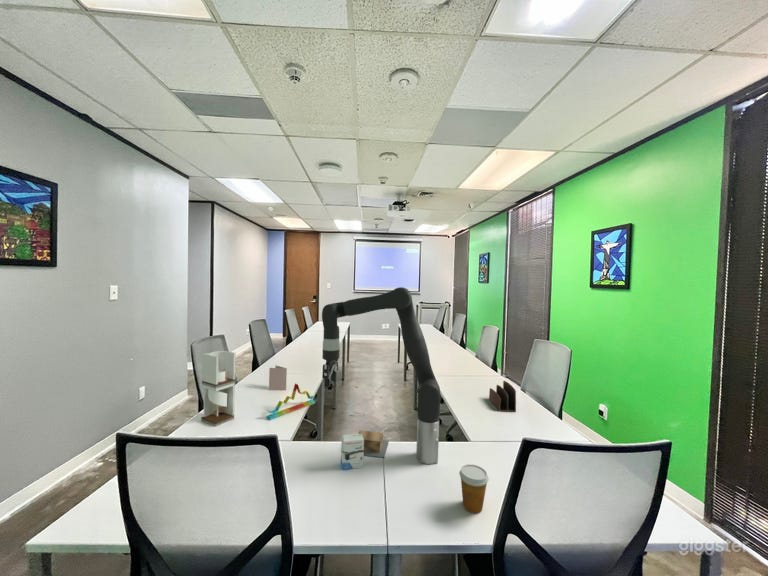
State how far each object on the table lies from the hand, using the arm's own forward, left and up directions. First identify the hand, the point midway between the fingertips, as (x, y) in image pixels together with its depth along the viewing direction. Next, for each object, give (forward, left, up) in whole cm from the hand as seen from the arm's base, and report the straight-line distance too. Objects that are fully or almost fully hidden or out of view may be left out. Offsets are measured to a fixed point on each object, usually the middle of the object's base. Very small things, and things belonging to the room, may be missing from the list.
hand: (330, 384), depth 139 cm
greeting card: (+58, -62, -29) cm, 90 cm away
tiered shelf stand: (+65, -13, -29) cm, 72 cm away
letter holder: (-89, -71, -29) cm, 117 cm away
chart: (+33, -33, -29) cm, 55 cm away
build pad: (-18, -4, -29) cm, 34 cm away
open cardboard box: (-18, -4, -28) cm, 34 cm away
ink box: (-14, +11, -29) cm, 34 cm away
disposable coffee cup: (-60, +25, -29) cm, 71 cm away
